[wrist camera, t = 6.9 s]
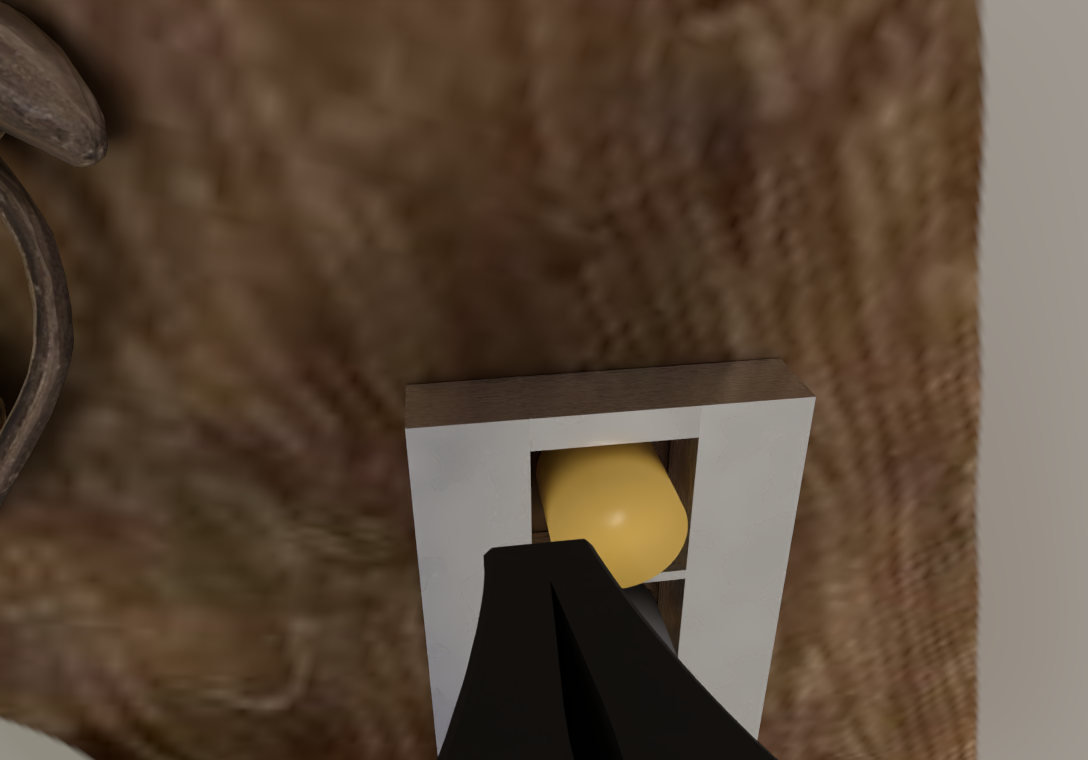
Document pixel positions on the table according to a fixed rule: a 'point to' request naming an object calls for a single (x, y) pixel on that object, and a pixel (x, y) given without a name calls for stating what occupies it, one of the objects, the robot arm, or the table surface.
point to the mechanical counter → (78, 139)
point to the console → (694, 469)
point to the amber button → (614, 506)
